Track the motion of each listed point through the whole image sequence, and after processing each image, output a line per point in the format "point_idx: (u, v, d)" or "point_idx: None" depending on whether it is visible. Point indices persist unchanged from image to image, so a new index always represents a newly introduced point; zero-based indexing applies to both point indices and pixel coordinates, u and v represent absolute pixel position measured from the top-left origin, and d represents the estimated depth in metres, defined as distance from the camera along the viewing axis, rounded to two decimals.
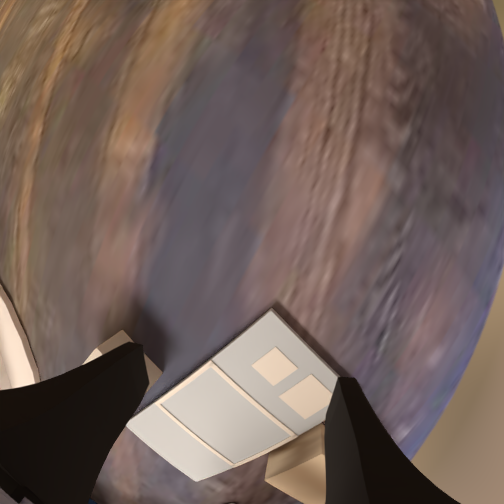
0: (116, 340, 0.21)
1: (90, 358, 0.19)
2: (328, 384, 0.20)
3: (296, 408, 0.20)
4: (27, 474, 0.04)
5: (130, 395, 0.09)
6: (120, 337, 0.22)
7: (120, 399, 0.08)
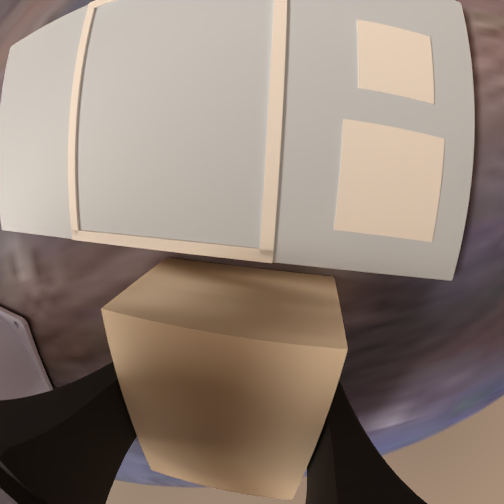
0: None
1: None
2: (448, 194, 0.07)
3: (348, 183, 0.08)
4: (44, 486, 0.04)
5: None
6: None
7: None
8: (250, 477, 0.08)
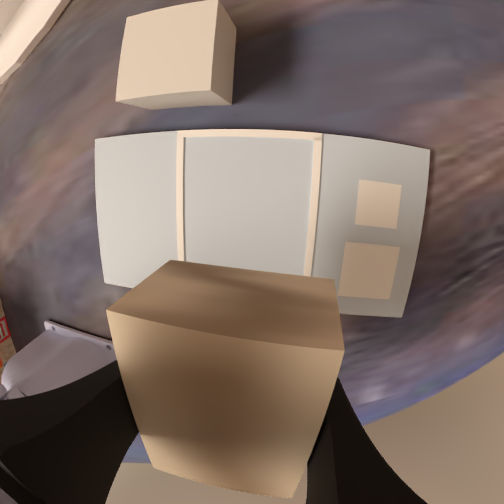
0: (229, 24, 0.12)
1: (188, 6, 0.10)
2: (399, 275, 0.15)
3: (345, 273, 0.16)
4: (44, 486, 0.04)
5: None
6: (232, 29, 0.12)
7: None
8: (250, 475, 0.08)
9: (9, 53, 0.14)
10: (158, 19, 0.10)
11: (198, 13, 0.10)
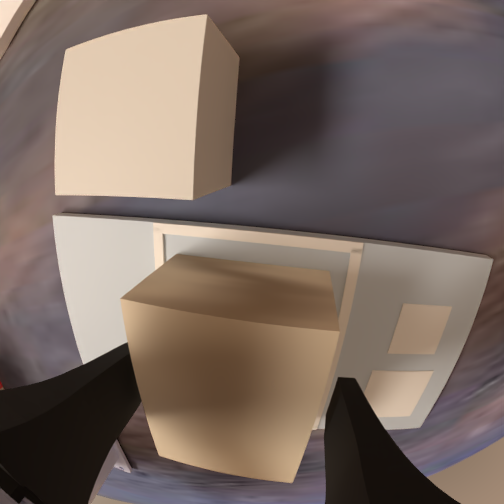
0: (228, 55, 0.08)
1: (155, 27, 0.06)
2: (426, 395, 0.11)
3: None
4: (28, 473, 0.04)
5: (130, 395, 0.09)
6: (232, 61, 0.08)
7: (119, 398, 0.08)
8: (253, 459, 0.09)
9: None
10: (107, 54, 0.06)
11: (171, 42, 0.06)
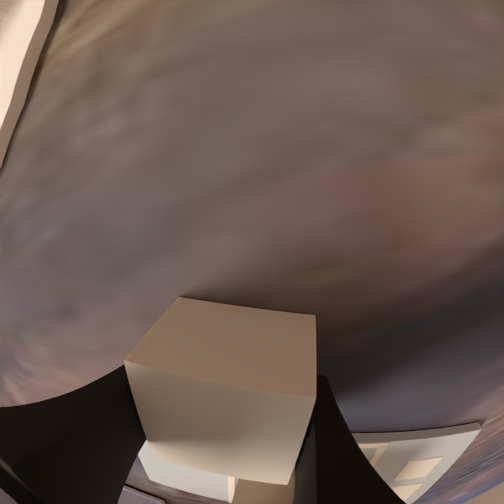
0: None
1: (254, 395, 0.06)
2: (416, 492, 0.12)
3: None
4: (56, 494, 0.04)
5: None
6: None
7: None
8: None
9: None
10: (193, 397, 0.07)
11: (275, 413, 0.07)
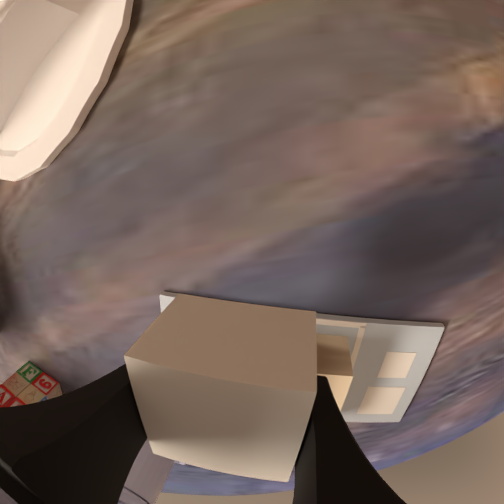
0: None
1: (254, 390, 0.06)
2: (401, 401, 0.19)
3: (364, 402, 0.20)
4: (56, 494, 0.04)
5: None
6: None
7: None
8: None
9: (29, 149, 0.18)
10: (193, 393, 0.07)
11: (276, 408, 0.07)
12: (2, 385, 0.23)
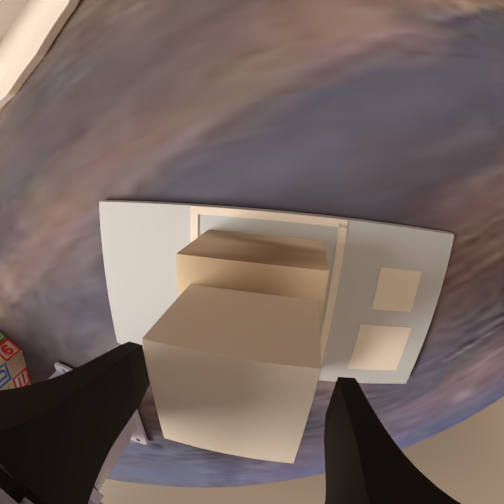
0: None
1: (265, 368, 0.07)
2: (408, 350, 0.15)
3: (357, 350, 0.16)
4: (27, 474, 0.04)
5: (130, 395, 0.09)
6: None
7: (119, 399, 0.08)
8: None
9: (0, 81, 0.14)
10: (207, 372, 0.08)
11: (283, 386, 0.07)
12: None
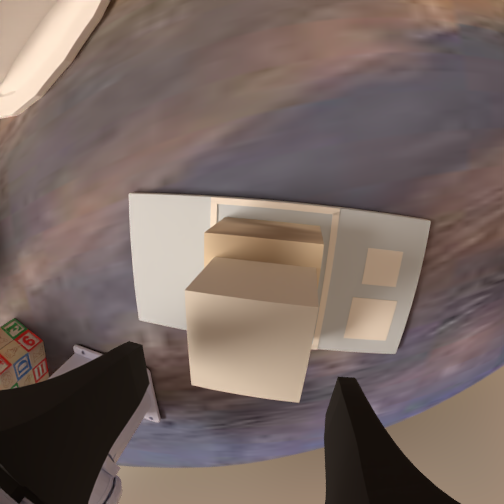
0: None
1: (277, 307, 0.10)
2: (395, 322, 0.18)
3: (351, 321, 0.19)
4: (28, 474, 0.04)
5: (130, 395, 0.09)
6: None
7: (119, 398, 0.08)
8: None
9: (27, 84, 0.17)
10: (234, 314, 0.11)
11: (291, 323, 0.11)
12: None
